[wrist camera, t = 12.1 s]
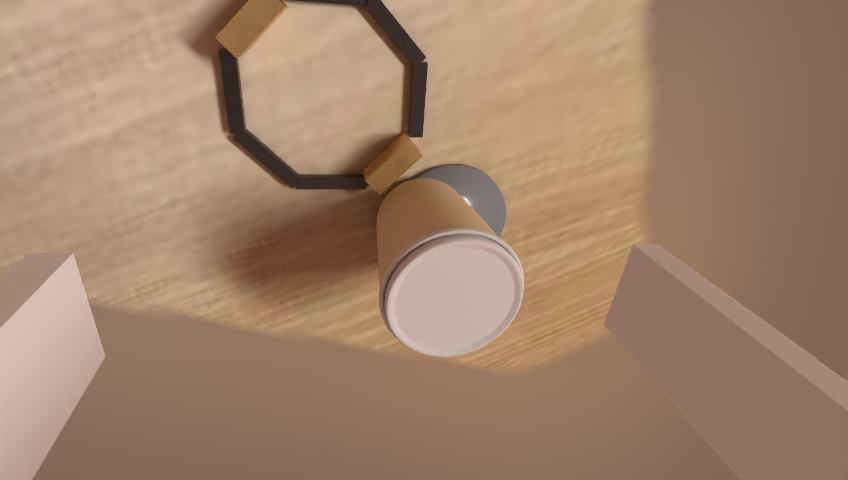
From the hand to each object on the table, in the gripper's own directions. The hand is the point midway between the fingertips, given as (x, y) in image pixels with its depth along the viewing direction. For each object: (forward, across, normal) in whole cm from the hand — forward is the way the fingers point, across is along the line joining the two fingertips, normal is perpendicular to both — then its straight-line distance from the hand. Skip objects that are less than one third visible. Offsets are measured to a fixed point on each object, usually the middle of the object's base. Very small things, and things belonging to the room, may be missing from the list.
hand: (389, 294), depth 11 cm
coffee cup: (+24, +7, -9) cm, 27 cm away
